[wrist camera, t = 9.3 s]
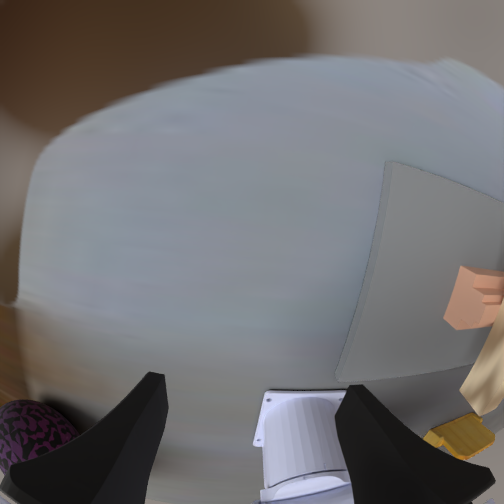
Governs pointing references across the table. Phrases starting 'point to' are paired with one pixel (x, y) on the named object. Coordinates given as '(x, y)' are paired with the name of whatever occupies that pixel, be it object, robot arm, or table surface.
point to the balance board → (426, 279)
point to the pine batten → (487, 371)
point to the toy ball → (31, 431)
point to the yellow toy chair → (462, 436)
